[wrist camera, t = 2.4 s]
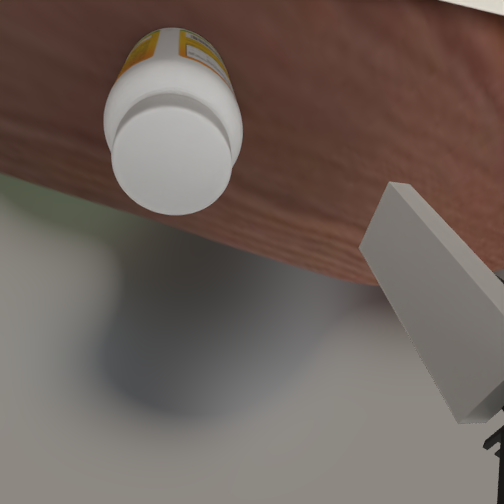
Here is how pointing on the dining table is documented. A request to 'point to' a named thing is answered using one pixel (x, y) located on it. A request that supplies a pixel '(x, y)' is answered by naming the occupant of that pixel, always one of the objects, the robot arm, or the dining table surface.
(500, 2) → the socket holder
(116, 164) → the supplement bottle
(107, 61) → the dining table surface
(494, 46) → the dining table surface
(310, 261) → the dining table surface
